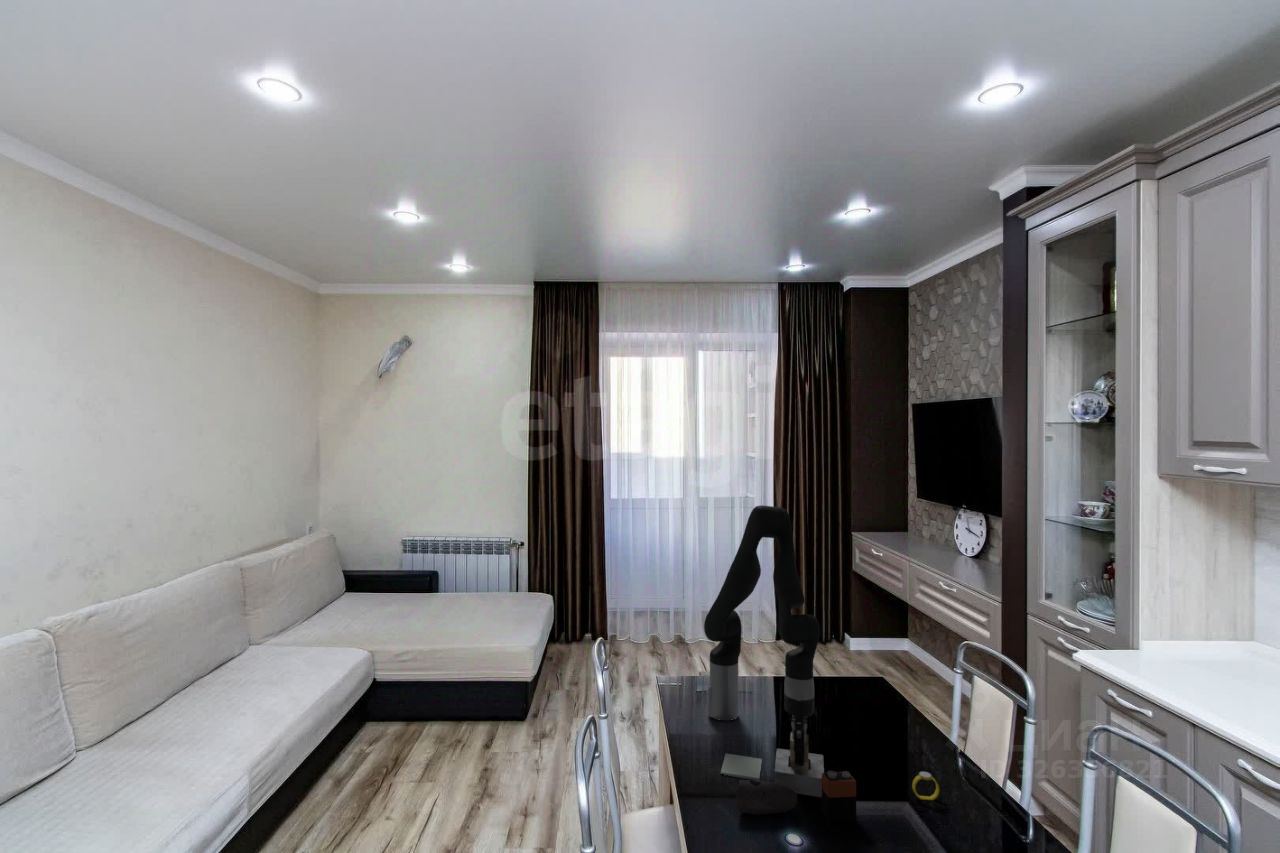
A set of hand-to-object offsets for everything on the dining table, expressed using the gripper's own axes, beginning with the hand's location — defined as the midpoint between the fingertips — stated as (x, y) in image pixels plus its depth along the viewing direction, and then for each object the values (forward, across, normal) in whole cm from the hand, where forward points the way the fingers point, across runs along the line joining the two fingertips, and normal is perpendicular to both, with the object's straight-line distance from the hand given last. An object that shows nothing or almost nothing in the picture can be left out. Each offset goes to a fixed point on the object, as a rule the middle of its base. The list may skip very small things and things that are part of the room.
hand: (799, 759), depth 151 cm
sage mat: (+5, -2, -15) cm, 16 cm away
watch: (+6, -1, +30) cm, 31 cm away
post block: (+5, 0, 0) cm, 5 cm away
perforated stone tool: (+6, +16, -7) cm, 18 cm away
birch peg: (+5, 0, 0) cm, 5 cm away
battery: (+6, +13, +9) cm, 17 cm away
